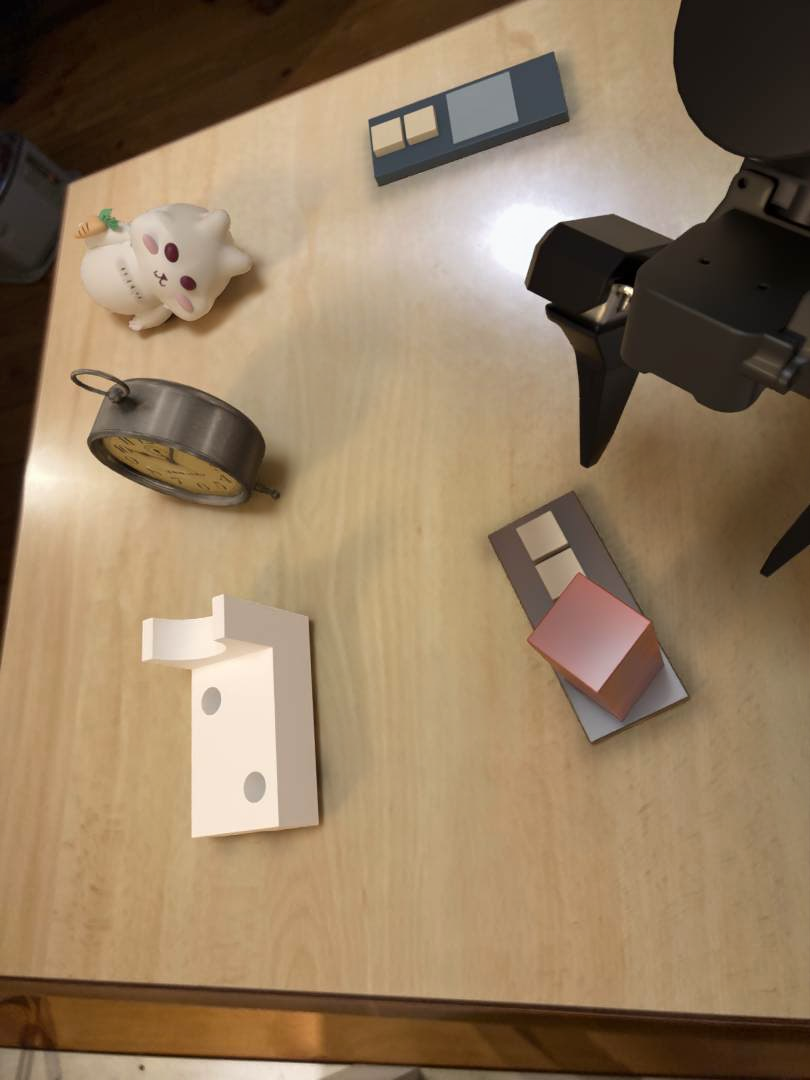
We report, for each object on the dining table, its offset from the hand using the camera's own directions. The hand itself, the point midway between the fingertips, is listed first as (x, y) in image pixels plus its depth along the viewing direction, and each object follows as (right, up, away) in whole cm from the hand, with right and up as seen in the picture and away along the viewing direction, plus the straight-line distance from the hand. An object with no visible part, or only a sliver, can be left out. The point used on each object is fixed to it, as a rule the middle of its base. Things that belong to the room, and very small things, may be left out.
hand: (672, 515), depth 37 cm
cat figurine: (-29, +19, +32) cm, 47 cm away
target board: (-7, +31, +27) cm, 42 cm away
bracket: (-21, -13, +17) cm, 31 cm away
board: (-1, -5, +13) cm, 14 cm away
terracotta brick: (0, -9, +10) cm, 13 cm away
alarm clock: (-25, +3, +24) cm, 35 cm away
